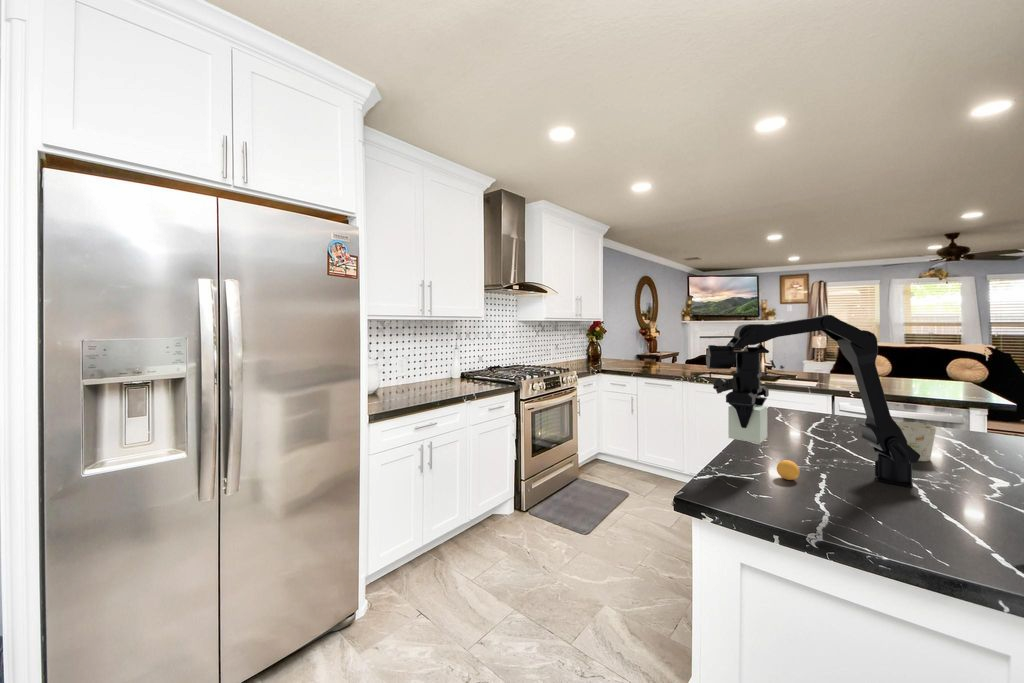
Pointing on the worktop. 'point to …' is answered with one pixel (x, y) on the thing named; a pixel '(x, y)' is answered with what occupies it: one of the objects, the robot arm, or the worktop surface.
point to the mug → (919, 437)
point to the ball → (788, 470)
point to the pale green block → (748, 425)
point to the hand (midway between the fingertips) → (748, 425)
